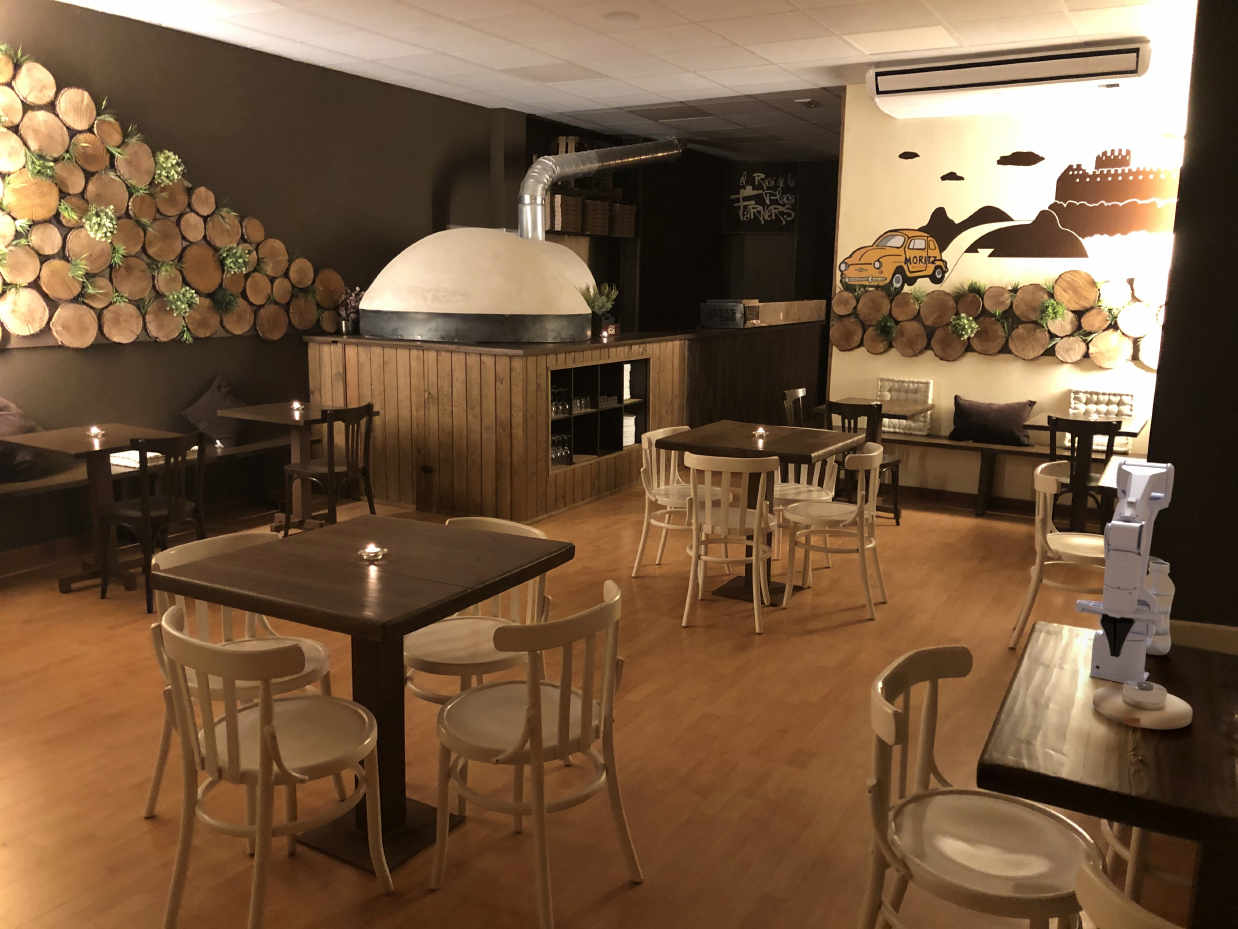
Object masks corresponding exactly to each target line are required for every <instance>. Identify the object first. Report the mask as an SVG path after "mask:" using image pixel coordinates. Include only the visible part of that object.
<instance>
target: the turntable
mask: <svg viewBox="0 0 1238 929" xmlns="http://www.w3.org/2000/svg"><path fill="white" fill-rule="evenodd" d="M1122 695H1123V684H1121V685H1120V684H1119V685H1117V684H1116V685H1106V686H1102V687H1100V688H1097V689H1096V690H1095V691H1093V695H1092V706H1093V707H1094V709H1095V710H1096V711H1097V712H1098V713H1100V714H1102V715H1103V716H1105V717H1107V718H1109V719H1112V720H1114V721H1116V722H1119V723H1122V724H1124V725H1128V726H1131V727H1135V728H1144V729H1150V730H1151V729H1152V730H1176V729H1182V728H1185V727H1187V726H1189V725H1190V724H1191V723H1192V720H1193V713H1194V712H1193V708H1192V707H1191V705H1190V704H1189V703H1188V702H1186V701H1185V700H1183V699H1182V698H1179V697H1177V696H1175V695H1173V694H1170V693H1168V692H1167V697H1166V708H1165V709H1164V710H1161V711H1144V710H1139V709H1135V708H1132V707H1130V706H1128V705H1126V704H1125V703H1123V701H1122Z"/></svg>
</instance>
